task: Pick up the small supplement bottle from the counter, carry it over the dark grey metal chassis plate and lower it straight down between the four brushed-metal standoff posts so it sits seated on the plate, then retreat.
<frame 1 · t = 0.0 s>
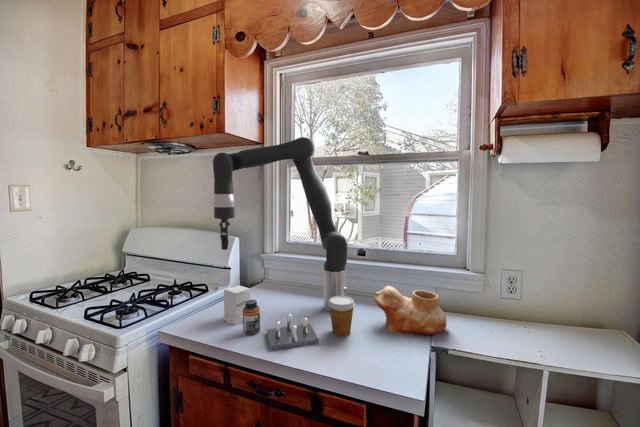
hand: (225, 247, 111), 29 cm above the worktop, fingers open, 8 cm apart
supplement bottle: (251, 332, 104), on the worktop
supplement box: (237, 320, 114), on the worktop
chassis: (291, 338, 99), on the worktop
disposable coffee cup: (341, 333, 103), on the worktop
ceramic vessel: (409, 327, 108), on the worktop
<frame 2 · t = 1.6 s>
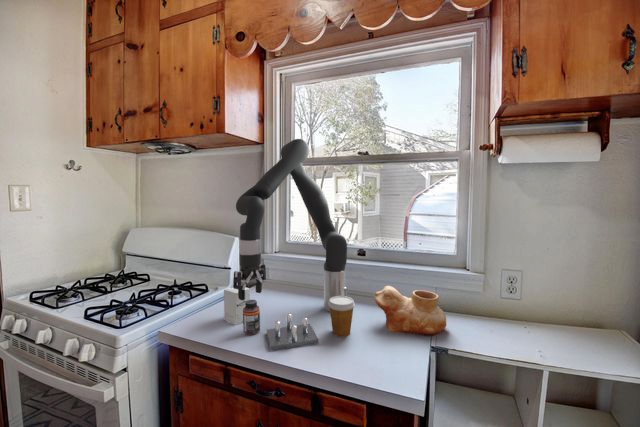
hand: (250, 296, 104), 13 cm above the worktop, fingers open, 8 cm apart
nothing on the worktop moved.
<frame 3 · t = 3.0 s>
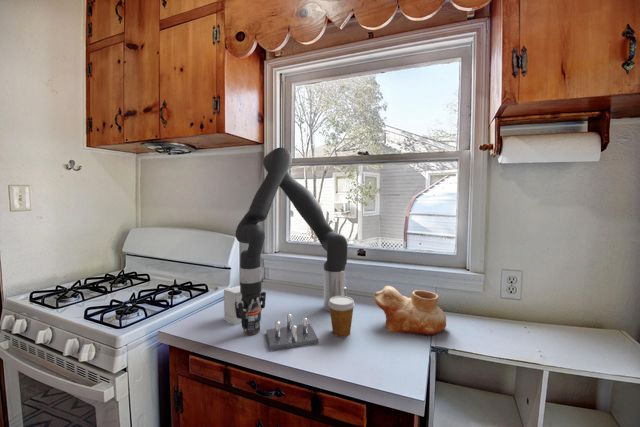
hand: (251, 324, 104), 3 cm above the worktop, fingers closed on supplement bottle, 6 cm apart
supplement bottle: (251, 332, 104), on the worktop, touching gripper
everything else where it was.
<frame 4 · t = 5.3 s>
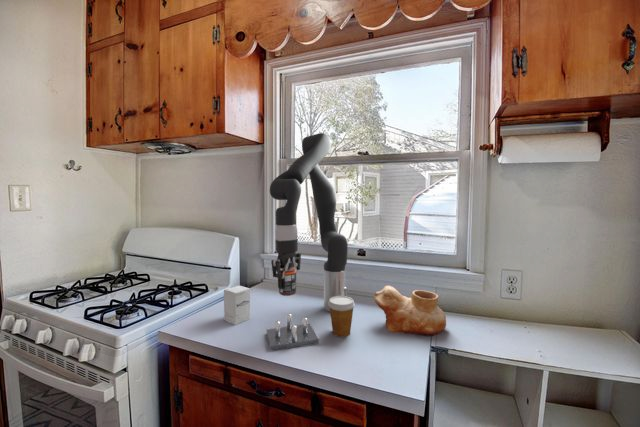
hand: (287, 285, 99), 18 cm above the worktop, fingers closed on supplement bottle, 6 cm apart
supplement bottle: (287, 293, 99), point 15 cm above the worktop, touching gripper
everything else where it was.
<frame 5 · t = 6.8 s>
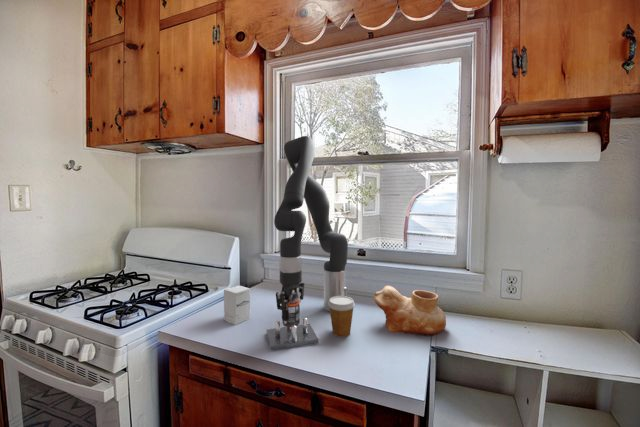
hand: (291, 316, 99), 8 cm above the worktop, fingers closed on supplement bottle, 6 cm apart
supplement bottle: (291, 324, 99), point 5 cm above the worktop, touching gripper
everything else where it was.
when the fingers open (5 cm above the worktop, at t = 7.8 s): supplement bottle stays where it is, resting on chassis.
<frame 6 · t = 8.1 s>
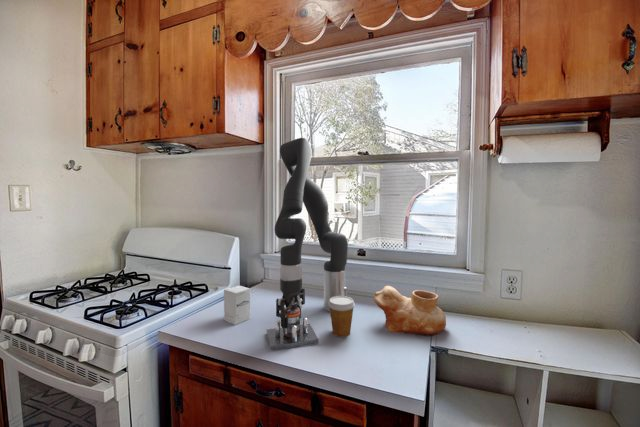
hand: (291, 322, 99), 6 cm above the worktop, fingers open, 8 cm apart
supplement bottle: (291, 334, 99), point 1 cm above the worktop, touching chassis
everything else where it was.
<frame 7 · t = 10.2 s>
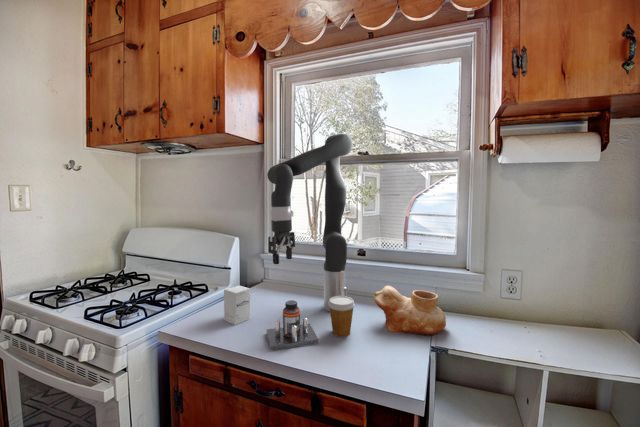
hand: (282, 261, 108), 25 cm above the worktop, fingers open, 8 cm apart
nothing on the worktop moved.
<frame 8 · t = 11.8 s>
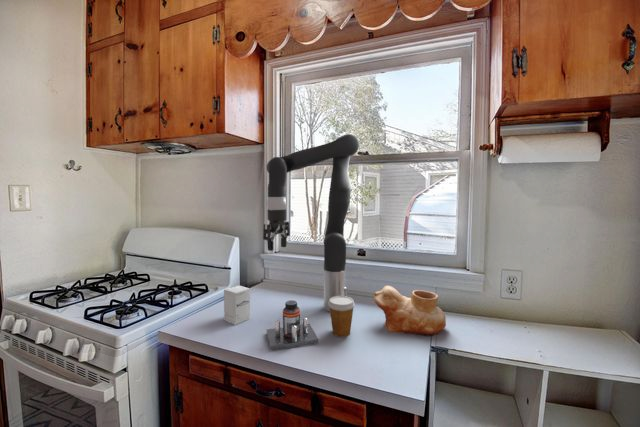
hand: (277, 248, 115), 28 cm above the worktop, fingers open, 8 cm apart
nothing on the worktop moved.
at the end: supplement bottle 0.1 cm from the chassis (horizontally); supplement bottle point 1.3 cm above the worktop; supplement bottle tilted 0° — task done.
